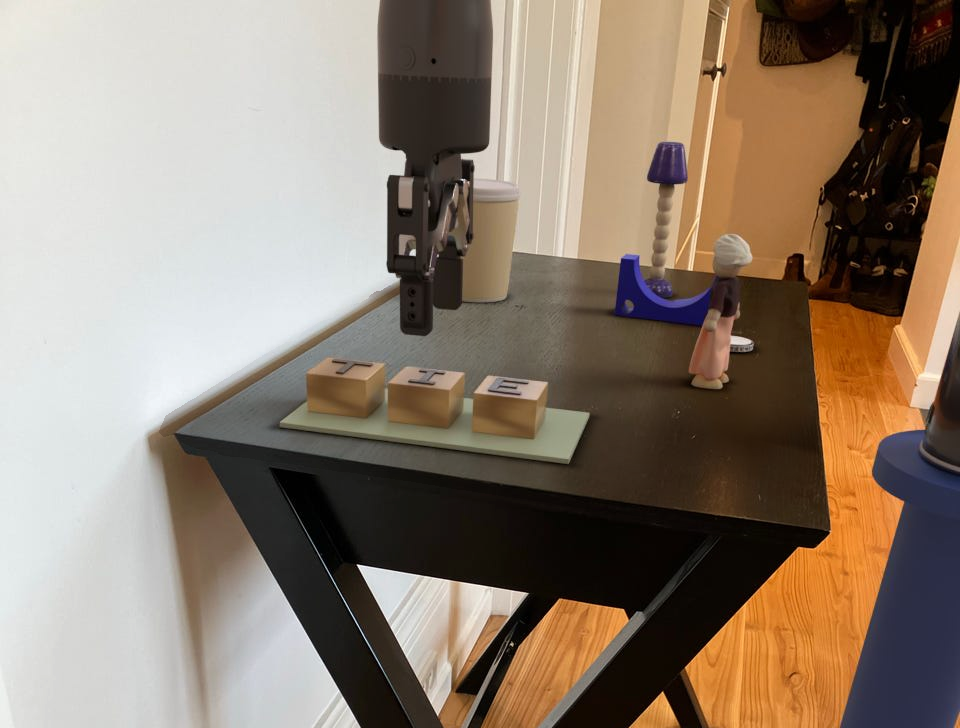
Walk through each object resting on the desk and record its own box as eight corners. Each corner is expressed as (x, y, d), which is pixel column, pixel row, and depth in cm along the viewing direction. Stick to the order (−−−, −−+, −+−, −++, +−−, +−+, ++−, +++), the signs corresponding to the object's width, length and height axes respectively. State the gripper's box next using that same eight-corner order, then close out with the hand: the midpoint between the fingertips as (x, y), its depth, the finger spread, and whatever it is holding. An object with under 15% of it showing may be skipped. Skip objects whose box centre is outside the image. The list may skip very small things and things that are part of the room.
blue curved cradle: (727, 319, 113) (736, 263, 110) (722, 328, 109) (732, 270, 106) (622, 306, 116) (628, 251, 113) (614, 314, 112) (620, 258, 109)
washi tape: (753, 353, 100) (754, 347, 100) (712, 349, 101) (713, 343, 100) (752, 343, 104) (753, 337, 103) (712, 339, 104) (714, 333, 104)
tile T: (385, 400, 81) (385, 361, 79) (366, 418, 77) (365, 378, 75) (329, 393, 82) (328, 355, 80) (307, 411, 78) (305, 371, 76)
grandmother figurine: (692, 369, 94) (715, 225, 88) (733, 375, 93) (759, 230, 87) (681, 392, 88) (704, 239, 82) (725, 398, 87) (752, 243, 81)
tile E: (545, 419, 79) (548, 380, 77) (534, 439, 75) (537, 398, 73) (485, 412, 79) (487, 373, 78) (471, 431, 75) (473, 391, 74)
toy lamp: (663, 300, 120) (684, 145, 111) (627, 294, 122) (645, 141, 113) (677, 294, 123) (698, 143, 115) (642, 288, 125) (660, 139, 117)
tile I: (463, 410, 80) (465, 371, 78) (448, 429, 76) (449, 388, 74) (405, 403, 81) (406, 364, 79) (387, 421, 77) (387, 381, 75)
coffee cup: (437, 284, 121) (439, 175, 115) (514, 288, 121) (521, 180, 115) (430, 301, 113) (433, 186, 107) (513, 306, 113) (520, 191, 107)
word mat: (589, 417, 81) (589, 412, 81) (568, 464, 72) (568, 459, 71) (330, 386, 85) (330, 381, 84) (279, 427, 75) (279, 422, 75)
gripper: (464, 74, 59) (458, 349, 68) (512, 70, 71) (502, 304, 80) (344, 69, 61) (352, 339, 69) (411, 65, 73) (411, 296, 81)
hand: (432, 320), depth 74 cm, fingers open, 8 cm apart
